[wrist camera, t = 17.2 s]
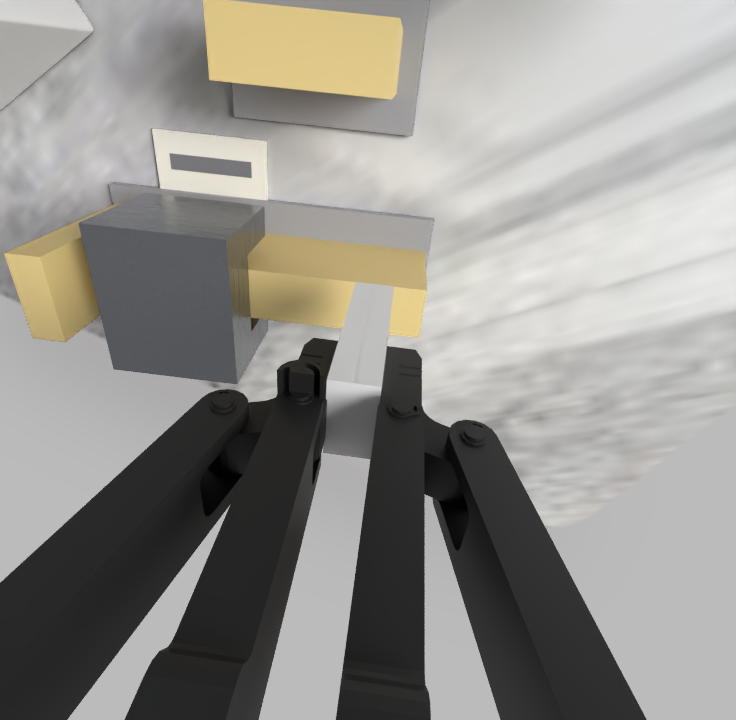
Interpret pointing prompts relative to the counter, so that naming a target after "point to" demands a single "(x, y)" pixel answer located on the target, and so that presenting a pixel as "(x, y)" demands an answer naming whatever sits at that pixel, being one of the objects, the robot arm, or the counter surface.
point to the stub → (320, 60)
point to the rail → (251, 266)
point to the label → (211, 164)
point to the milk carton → (36, 40)
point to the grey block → (176, 284)
